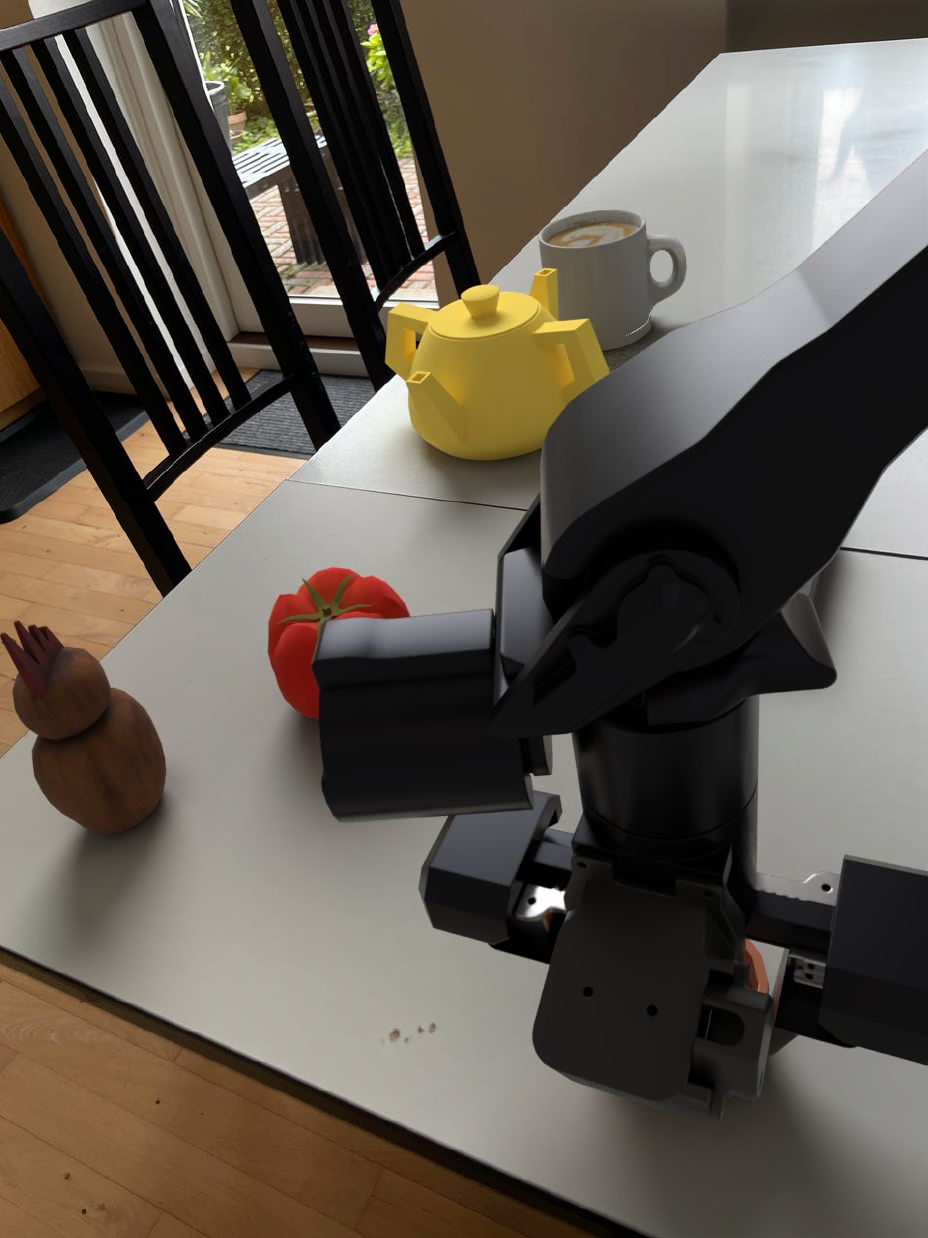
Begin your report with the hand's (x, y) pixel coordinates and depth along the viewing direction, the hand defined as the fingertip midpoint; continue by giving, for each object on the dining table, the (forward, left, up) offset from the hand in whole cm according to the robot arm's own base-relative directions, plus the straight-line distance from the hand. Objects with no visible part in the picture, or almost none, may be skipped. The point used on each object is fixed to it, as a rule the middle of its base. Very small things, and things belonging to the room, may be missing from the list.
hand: (683, 1019), depth 42 cm
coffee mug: (+23, -69, -1) cm, 73 cm away
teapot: (+28, -50, -1) cm, 57 cm away
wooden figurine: (+34, -4, -1) cm, 34 cm away
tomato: (+25, -16, -1) cm, 30 cm away
